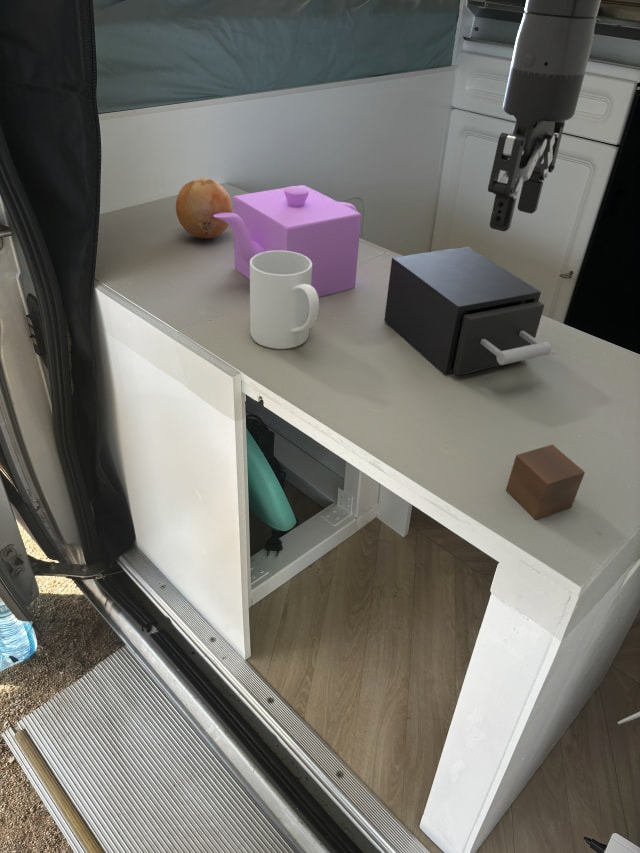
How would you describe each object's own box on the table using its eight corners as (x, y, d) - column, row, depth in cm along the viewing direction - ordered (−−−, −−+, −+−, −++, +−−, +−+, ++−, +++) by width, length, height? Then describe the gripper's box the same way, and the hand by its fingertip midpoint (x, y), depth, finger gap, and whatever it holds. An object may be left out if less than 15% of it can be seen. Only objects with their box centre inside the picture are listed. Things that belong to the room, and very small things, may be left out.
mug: (240, 329, 90) (238, 256, 83) (289, 317, 93) (291, 246, 87) (286, 371, 82) (288, 294, 76) (337, 355, 85) (343, 280, 79)
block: (540, 478, 68) (552, 443, 65) (571, 507, 64) (585, 472, 62) (505, 490, 66) (515, 454, 63) (535, 520, 63) (547, 484, 60)
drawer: (555, 378, 82) (573, 322, 77) (482, 396, 78) (496, 339, 73) (464, 311, 96) (475, 260, 91) (398, 323, 92) (405, 271, 87)
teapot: (194, 277, 102) (188, 186, 94) (324, 249, 114) (329, 166, 106) (242, 317, 93) (240, 219, 84) (378, 281, 105) (389, 192, 96)
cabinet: (523, 357, 88) (541, 291, 82) (445, 375, 83) (458, 306, 77) (456, 307, 99) (468, 246, 93) (383, 321, 94) (391, 257, 88)
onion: (223, 224, 122) (221, 168, 116) (240, 243, 115) (239, 185, 109) (172, 229, 118) (167, 172, 112) (186, 249, 111) (182, 189, 105)
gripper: (560, 77, 61) (520, 244, 71) (604, 64, 71) (563, 213, 81) (487, 67, 65) (458, 227, 74) (537, 55, 74) (506, 199, 84)
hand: (513, 220), depth 78 cm, fingers open, 8 cm apart
